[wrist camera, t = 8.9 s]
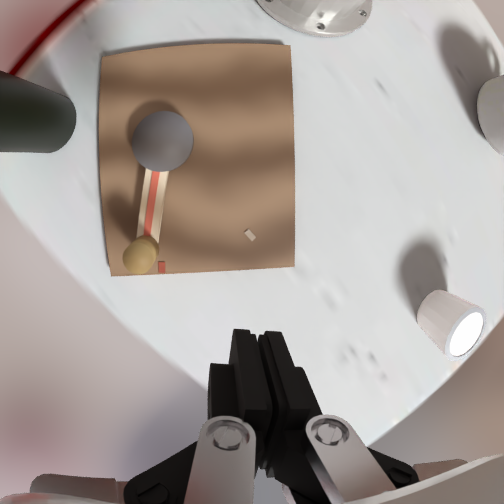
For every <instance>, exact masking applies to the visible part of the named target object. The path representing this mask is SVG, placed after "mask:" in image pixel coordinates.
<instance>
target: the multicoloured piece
mask: <svg viewBox="0 0 504 504" xmlns="http://www.w3.org/2000/svg"><path fill="white" fill-rule="evenodd" d="M193 144H194V137H193V132H192V130H191V128H190V126H189V124H188V123H187V121H186V120H185V119H184V118H183V117H181V116H180V115H178V114H176V113H174V112H170V111H159V112H155V113H152V114H150V115H148V116H146V117H145V118H144V119H143V120H142V121H141V122H140V123H139V124H138V125H137V127H136V129H135V131H134V133H133V137H132V150H133V153H134V156H135V158H136V159H137V161H138V162H139V163H140V164H141V165H142V166H143V167H145V168H146V172H145V178H144V185H143V191H142V198H141V205H140V213H139V220H138V229H137V238H136V239H135V240H134V241H133V242H132V243H131V244H130V245H129V246H128V247H127V248H126V249H125V251H124V253H123V263H124V266H125V267H126V269H127V270H128V271H130V272H131V273H133V274H138V275H139V274H144V273H146V272H147V271H149V269H150V268H151V266H152V265H153V263H154V261H155V260H156V258H157V257H158V254H159V245H158V242H159V234H160V227H161V220H162V213H163V206H164V200H165V193H166V187H167V181H168V175H169V171H171V170H174V169H176V168H178V167H180V166H181V165H182V164H183V163H184V162H185V161H186V160H187V159H188V158H189V156H190V154H191V152H192V149H193Z"/></svg>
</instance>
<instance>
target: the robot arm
mask: <svg viewBox="0 0 504 504" xmlns="http://www.w3.org/2000/svg"><path fill="white" fill-rule="evenodd" d="M257 1H258V3H259V4H260V6H261V7H262V8H263V9H264V10H265V11H266V12H267V13H268V14H269V15H270V16H272V17H273V18H274V19H275V20H277V21H279V22H280V23H282V24H284V25H285V26H287V27H289V28H292V29H294V30H296V31H299V32H302V33H305V34H309V35H314V36H320V37H336V36H343V35H346V34H349V33H352V32H353V31H355V30H357V29H358V28H360V27H361V26H362V25H363V24H364V23H365V22H366V21H367V20H368V18H369V16H370V14H371V11H372V0H257ZM318 28H319V29H318ZM258 467H260V469H265V471H266V476H267V478H269V477H275V479H276V480H278V481H279V482H281V483H282V490H283V493H284V495H285V498H286V500H287V502H288V504H504V454H497V455H493V456H488V457H484V458H480V459H477V460H474V461H472V462H470V463H468V462H467V461H464V460H462V459H454V460H447V461H439V462H430V463H421V464H414V465H413V467H411V466H410V465H408V464H406V463H404V462H401V461H399V460H396V459H394V458H391V457H389V456H387V455H384V454H382V453H379V452H377V451H375V450H372V449H370V448H368V447H366V446H365V444H364V443H363V442H362V440H361V439H360V438H359V436H358V435H357V433H356V432H355V430H354V429H353V428H352V426H351V425H350V424H349V423H348V422H347V421H345V420H344V419H342V418H340V417H337V416H334V415H323V414H322V412H321V409H320V407H319V405H318V402H317V400H316V397H315V395H314V393H313V390H312V388H311V386H310V383H309V381H308V378H307V376H306V374H305V371H304V369H303V368H302V367H295V366H294V363H293V361H292V358H291V356H290V353H289V350H288V348H287V345H286V343H285V340H284V337H283V335H282V333H281V332H277V331H265V333H264V335H259V337H258V342H257V339H256V335H255V334H251V333H250V330H244V329H234V330H233V335H232V342H231V350H230V357H229V364H216V363H211V364H210V371H209V382H208V420H207V421H206V422H205V423H204V424H203V426H202V428H201V430H200V434H199V438H198V441H196V442H194V443H193V444H191V445H189V446H188V447H186V448H185V449H183V450H181V451H180V452H178V453H176V454H175V455H173V456H171V457H170V458H168V459H166V460H164V461H163V462H161V463H159V464H157V465H156V466H154V467H152V468H150V469H148V470H147V471H145V472H143V473H141V474H139V475H137V476H135V477H134V478H132V479H131V480H130V481H128V482H127V481H126V482H124V481H116V480H115V478H91V477H78V476H66V475H58V474H42V475H40V476H37V477H36V478H35V479H34V480H33V481H32V484H31V487H30V493H20V494H12V495H8V496H5V497H3V498H1V499H0V504H253V495H254V479H255V476H256V473H257V470H258Z"/></svg>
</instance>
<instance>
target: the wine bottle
mask: <svg viewBox="0 0 504 504" xmlns="http://www.w3.org/2000/svg"><path fill="white" fill-rule="evenodd" d="M75 125H76V110H75V107H74V105H73V103H72V102H71V101H70V100H69V99H68V98H67V97H65V96H63V95H60V94H58V93H55V92H53V91H51V90H48V89H46V88H44V87H41V86H39V85H36V84H34V83H31V82H29V81H26V80H24V79H21V78H19V77H16V76H13V75H11V74H8V73H6V72H3V71H0V152H33V153H51V152H55V151H57V150H59V149H60V148H62V147H63V146H64V145H65V144H66V143H67V142H68V140H69V139H70V138H71V136H72V134H73V132H74V129H75Z"/></svg>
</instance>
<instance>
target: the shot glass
mask: <svg viewBox="0 0 504 504" xmlns="http://www.w3.org/2000/svg"><path fill="white" fill-rule="evenodd" d="M417 322H418V325H419V326H420V328H421V329H422V330H423V331H424V332H425V333H426V334H427V335H428V336H429V338H430V339H431V340H432V341H433V342H434V343H435V344H436V345H437V347H438V348H439V349H440V350H441V351H442V352H443V353H444V355H445V356H446V357H447V358H448V359H449V360H450V361H457V360H460V359H462V358H464V357H465V356H467V355H468V354H469V353H470V352H471V351H472V350H473V349H474V348H475V346H476V345H477V344H478V343H479V341H480V339H481V337H482V335H483V333H484V329H485V326H486V313H485V311H484V309H483V308H481V307H479V306H477V305H475V304H473V303H470V302H468V301H466V300H464V299H462V298H459V297H457V296H455V295H453V294H451V293H448V292H446V291H444V290H441V289H439V290H435V291H433V292H431V293H430V294H428V295H427V296H426V298H425V299H424V300H423V301H422V303H421V305H420V307H419V309H418V313H417Z"/></svg>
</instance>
